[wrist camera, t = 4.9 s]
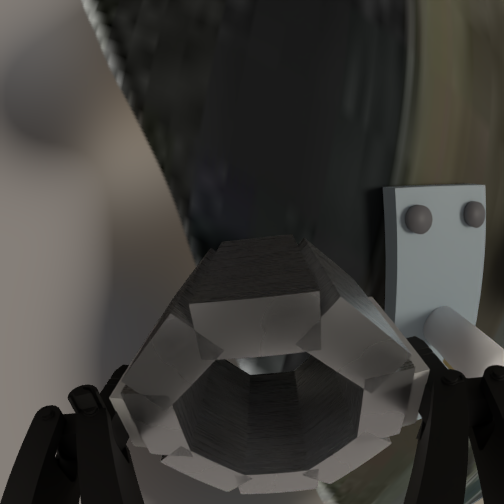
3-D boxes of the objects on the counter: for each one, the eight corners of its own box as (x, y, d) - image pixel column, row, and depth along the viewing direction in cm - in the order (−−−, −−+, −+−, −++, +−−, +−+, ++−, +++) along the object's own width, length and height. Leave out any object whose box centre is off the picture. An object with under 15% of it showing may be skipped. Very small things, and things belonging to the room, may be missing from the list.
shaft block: (382, 187, 19) (462, 195, 10) (469, 183, 18) (554, 193, 10) (373, 416, 23) (404, 489, 15) (445, 395, 23) (487, 453, 14)
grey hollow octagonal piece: (159, 249, 15) (89, 309, 8) (355, 227, 14) (427, 275, 7) (196, 399, 17) (173, 490, 10) (353, 384, 16) (385, 474, 10)
